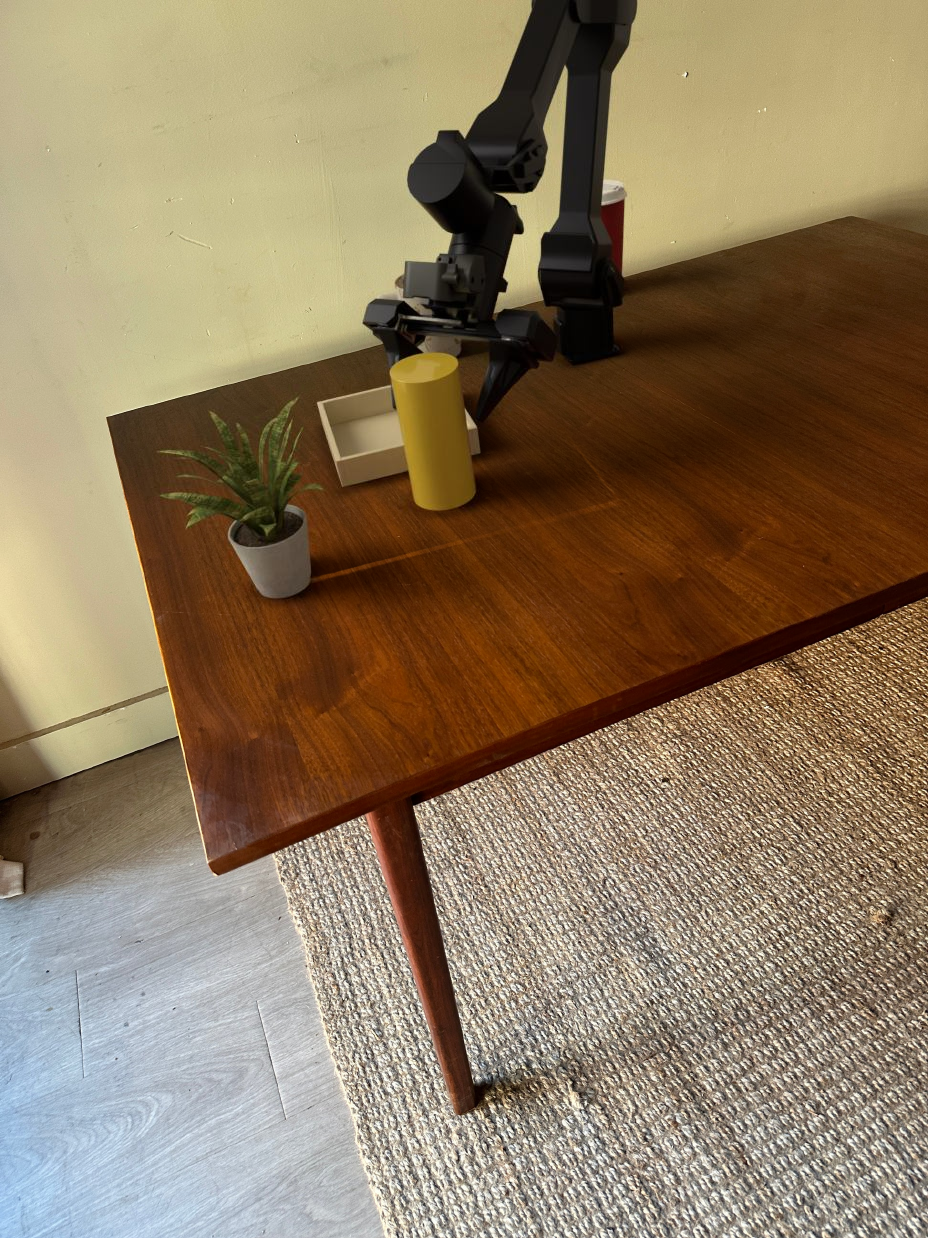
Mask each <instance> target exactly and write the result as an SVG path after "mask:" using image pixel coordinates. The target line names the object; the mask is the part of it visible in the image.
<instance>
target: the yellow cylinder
mask: <svg viewBox="0 0 928 1238" xmlns="http://www.w3.org/2000/svg"><path fill="white" fill-rule="evenodd" d="M459 364H460V363H459V359H457V357H454V356H452V355H449V354H445V353H423V354H417V355H413V356H410V357H407V358H405V359H402V360H400V361H399V362H397V363H396V364H394V365H393V366H392V368H391V369H390V371H389V378H390V377H391V383H392V388H393V393H394V398H395V404H396V409H397V414H398V419H399V425H400V430H401V435H402V440H403V446H404V451H405V456H406V461H407V467H408V471H407V472H408V476H409V477H408V478H409V481H410V482H409V483H410V487H411V492H412V498H413V501H414V503H415V504H416V505H417V506H418V507H420V508H422V509H425V510H429V511H447V510H452V509H456V508H459V507H461V506H463V505H465V504H467V503H468V502H470V501H471V500H473V498H474V497H475V494H476V493H477V486H476V477H475V472H474V471H475V470H474V464H473V457H472V456H473V455H471V449H470V442H469V435H468V428H467V420H466V413H465V409H466V407H465V399H464V393H463V385H462V379H461V371H460V365H459ZM391 383H390V384H391Z"/></svg>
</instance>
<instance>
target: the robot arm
mask: <svg viewBox="0 0 928 1238" xmlns="http://www.w3.org/2000/svg"><path fill="white" fill-rule="evenodd" d="M530 2H531V6H530V7H531V10H530V13H529V15H528V18H527V21H526V23H525V26H524V28H523V32H522V34H521V36H520V39H519V42H518V44H517V48H516V50H515V52H514V55H513V57H512V60H511V62H510V65H509V68H508V71H507V73H506V76H505V78H504V81H503V84H502V86H501V89H500V92H499V94H498V96H497V98H496V99H495V100H494V101H493V102H491V103H490V104H489V105H488V106H485V108H484V109H482V110H481V111H480V112H479V113H478V114H477V115H476V117H475V119H474V120H473V122H472V124H471V126H470V128H469V130H468V131H467V133H466V135H465V137H464V135H463V134H462V133H461V131H460V130H459V129H440V130H438V132H437V136H436V139H435V142H433V143H431V144H428V145H427V146H426V147H425V148H424V149H422V150H421V151H420V152H419V153H418V155H416V157H414V160H413V162H411V164H409V166H408V170H407V177H406V183H407V189H408V191H409V193H410V195H411V196H412V197H413V198H414V200H415V201H416V202H417V203H418V204H419V205H420V206H421V207H422V208H423V209H424V211H426V212H427V213H428V215H429V216H430V217H431V218H432V219H433V220H434V221H435V222H436V224H438V226H439V227H440V228H441V229H442V230H444V231H445V232H446V233H449V234H451V238H450V242H449V245H448V250H447V253H443V252H440V253H439V254H438V256H437V257H436V259H435V262H433V261H432V262H431V261H414V260H413V261H412V260H405V261H404V271H403V274H404V286H403V298H407V299H409V298H411V299H413V298H414V297H417V298H422V299H421V303H420V304H421V305H422V306H423V307H424V308H425V309H430V310H431V311H433V312H432V315H421V314H419V313H418V312H417V311H416V310H414V309H413V308H412V307H411V306H410V305H409V304H407V303H406V302H405V301H402V300H389V299H377V297H376V298H373V300H371V301H370V302H368V303H367V305H366V308H365V311H364V315H363V319H362V323H361V324H362V325H364V326H365V327H366V328H368V329H369V330H370V331H371V332H372V335H373V336H374V337H375V338H376V339H378V340H379V341H380V342H381V343H382V344H383V347H384V349H385V353H386V357H387V362H388V370H389V372H390V369H391V368H392V366H393V365H394V364H396V363H397V362H399V361H400V360H402V359H405V358H407V357H410V356H413V355H417V354H423V353H424V352H423V351H422V350H420V349H419V348H418V346H419V345H421V344H422V343H423V342H424V341H425V338H426V336H435V337H445V338H456V339H461V340H466V341H477V342H486V343H488V365H487V368H486V372H485V374H484V375H485V376H484V378H483V381H482V386H481V389H480V393H479V396H478V400H477V403H476V409H475V415H474V420H475V421H476V422H477V423H479V424H483V423H485V421H486V420H487V418H489V416H490V415H491V413H493V411H494V410H495V409H496V407H497V406H498V405H499V403H500V402H501V401H502V400H503V398H505V396H506V395H507V394H508V393H509V392H510V390H511V389H512V388H513V387H514V386H515V385H516V384H517V383H518V382H519V381H520V380H521V379H522V378H523V377H524V376H525V375H526V374H527V373H528V372H529V371H530V370H538V369H539V367H540V362H546V363H551V362H553V361H554V360H555V356H556V352H558V353H559V354H560V355H561V356H562V357H563V358H564V359H565V361H567V362H568V364H570V365H575V364H580V363H583V362H588V361H591V360H597V359H601V358H604V357H609V356H614V355H617V354H619V353H620V348H619V347H618V346H617V345H616V344H615V337H614V336H615V333H614V308H617V307H621V306H622V305H623V298H624V293H625V289H626V288H625V284H626V283H625V282H626V281H625V279H626V278H625V277H624V276H623V273H622V274H621V273H620V271H619V269H618V268H617V266H616V265H615V263H614V261H613V260H612V241H611V239H610V237H609V235H608V233H607V231H606V229H605V226H604V224H603V222H602V220H601V204H602V192H603V180H605V179H604V178H605V164H606V154H607V153H606V151H607V139H608V129H609V126H608V125H609V114H610V102H611V89H612V77H613V73H614V71H615V69H616V68H617V66H618V64H619V63H620V61H621V60H622V58H623V56H624V54H625V52H626V51H627V49H628V48H629V46H630V41H631V33H632V27H633V23H634V21H635V20H636V16H637V11H638V0H531V1H530ZM565 68H566V71H567V73H566V75H567V78H566V93H565V110H564V127H563V142H562V143H563V144H562V157H561V158H562V159H561V173H560V174H561V175H560V191H559V192H560V193H559V208H558V215H557V216H558V217H557V219H556V220H555V222H554V223H553V224H552V226H551V228H550V230H548V231H544V232H543V234H542V236H541V238H540V257H539V262H538V266H537V280H538V281H537V282H538V284H539V288H540V292H541V296H542V298H543V303H544V306H545V307H547V308H550V307H553V308H556V315H555V316H553V318H552V322H553V327H552V326H551V325H550V324H549V323H548V322H547V320H545V318H544V317H543V315H541V313H539V311H538V310H529V309H528V310H527V309H515V308H502V310H500V311H499V312H498V313H497V315H496V320H495V319H494V313H495V310H496V306H497V302H498V298H499V295H500V293H501V294H503V293H504V294H506V293H507V289H508V286H509V282H508V281H507V280H506V279H505V277H504V275H505V271H506V268H507V262H508V260H509V259H508V258H509V255H510V251H511V247H512V244H513V239H514V235H518V236H520V235H524V233H525V226H524V221H523V219H522V218H521V217H520V216H521V215H520V214H519V211H518V205H516V204H512V203H511V202H510V201H509V200H508V199H507V198H506V197H505V196H504V194H506V195H507V194H509V195H510V194H511V195H512V194H513V195H515V194H516V195H517V194H519V195H522V194H523V195H524V194H529V193H533V192H534V190H535V189H536V188H537V186H538V184H539V183H540V180H541V179H542V177H543V175H544V173H545V168H546V164H547V155H548V150H549V146H548V145H549V144H548V141H547V138H546V135H545V130H544V125H545V122H546V118H547V115H548V112H549V110H550V107H551V104H552V101H553V99H554V96H555V93H556V90H557V88H558V85H559V82H560V79H561V77H562V75H563V72H564V69H565ZM501 194H503V195H501ZM443 326H445V327H447V328H445V327H443ZM450 327H451V328H450ZM389 381H390V385H391V394H392V406H393V409H395V410H396V411H397V409H396V404H395V398H394V393H393V388H392V383H391V377H390V376H389Z"/></svg>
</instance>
